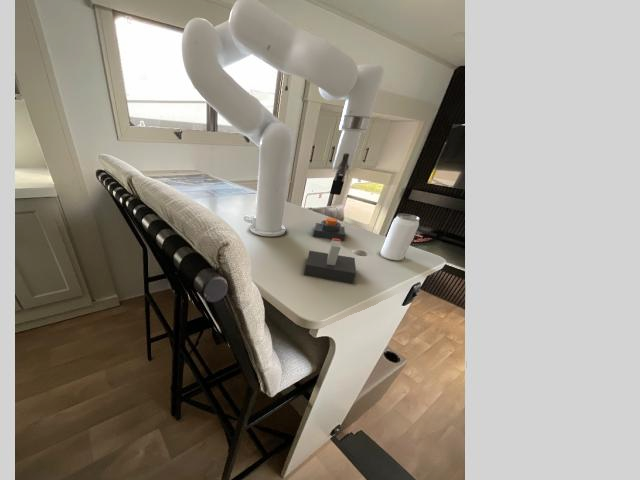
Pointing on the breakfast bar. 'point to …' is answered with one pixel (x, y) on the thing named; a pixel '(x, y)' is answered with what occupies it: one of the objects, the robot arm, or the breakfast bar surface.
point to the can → (400, 236)
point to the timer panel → (330, 267)
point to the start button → (331, 221)
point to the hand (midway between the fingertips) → (335, 193)
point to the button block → (329, 231)
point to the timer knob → (333, 251)
